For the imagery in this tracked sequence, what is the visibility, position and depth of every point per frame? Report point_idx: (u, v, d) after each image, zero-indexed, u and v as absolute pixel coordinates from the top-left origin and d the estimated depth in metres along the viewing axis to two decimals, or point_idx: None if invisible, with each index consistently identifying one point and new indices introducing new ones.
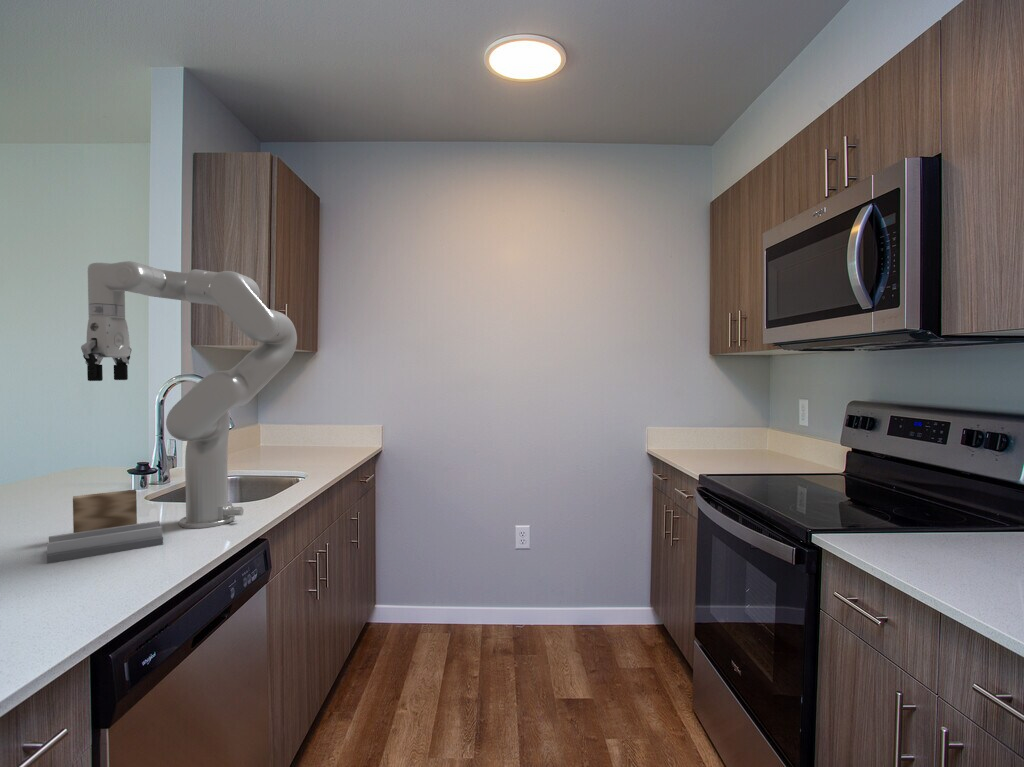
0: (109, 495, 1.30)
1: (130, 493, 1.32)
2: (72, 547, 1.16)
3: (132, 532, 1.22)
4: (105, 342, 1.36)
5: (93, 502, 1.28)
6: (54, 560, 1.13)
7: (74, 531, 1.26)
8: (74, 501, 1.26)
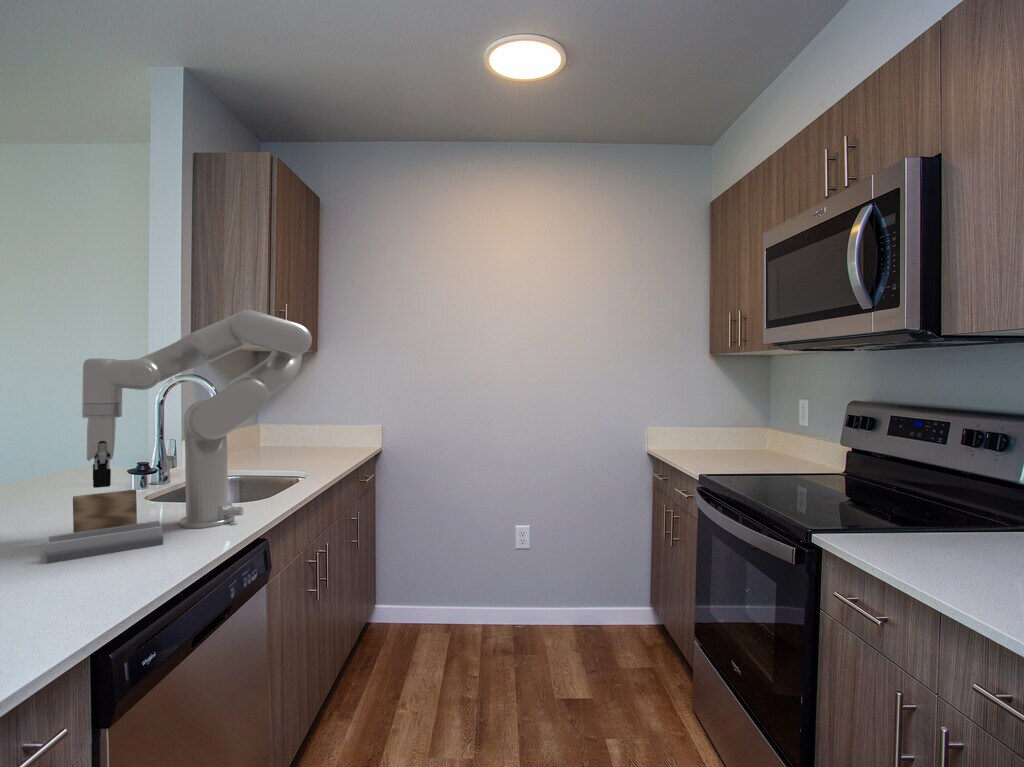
0: (109, 495, 1.30)
1: (130, 493, 1.32)
2: (72, 547, 1.16)
3: (132, 532, 1.22)
4: None
5: (93, 502, 1.28)
6: (54, 560, 1.13)
7: (74, 531, 1.26)
8: (74, 501, 1.26)
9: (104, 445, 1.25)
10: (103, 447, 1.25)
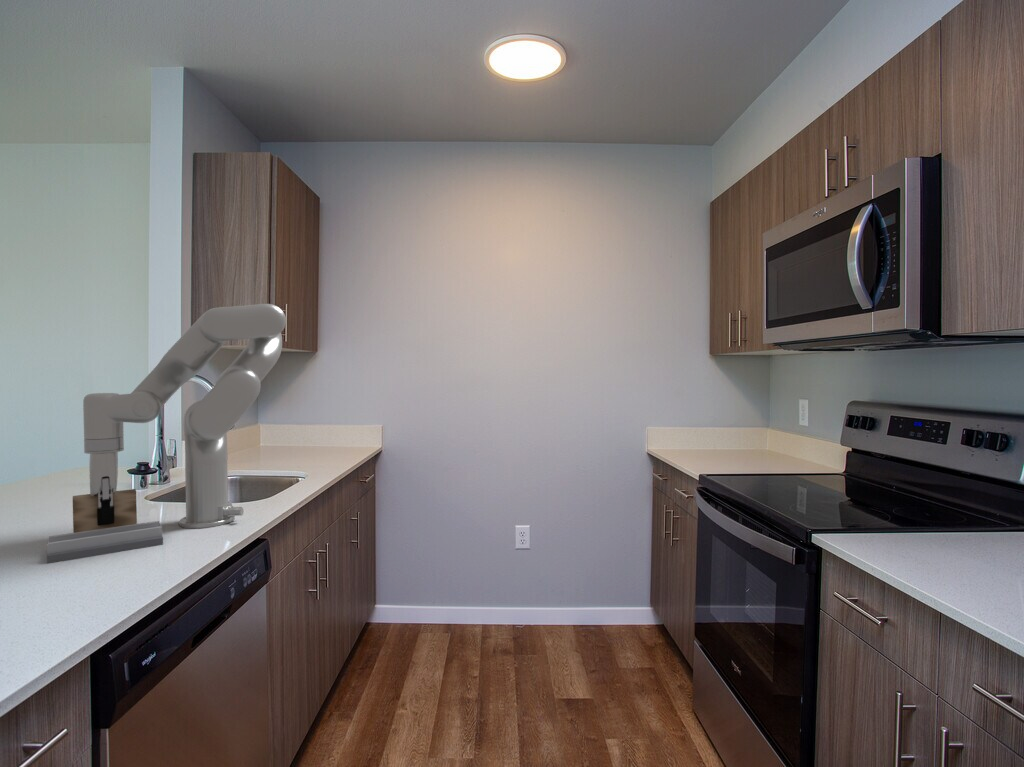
0: None
1: (130, 493, 1.32)
2: (72, 547, 1.16)
3: (132, 532, 1.22)
4: None
5: (92, 502, 1.28)
6: (54, 560, 1.13)
7: (74, 531, 1.26)
8: (74, 501, 1.26)
9: (107, 486, 1.27)
10: (106, 489, 1.26)
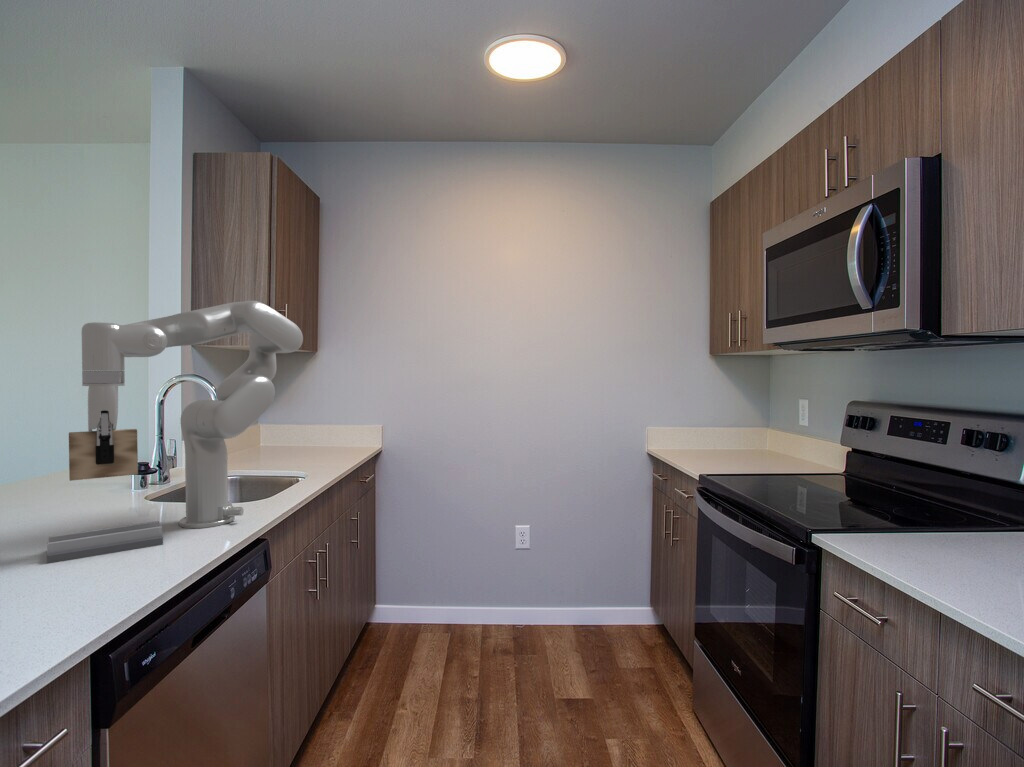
0: None
1: (130, 431, 1.23)
2: (72, 547, 1.16)
3: (132, 532, 1.22)
4: None
5: (90, 439, 1.19)
6: (54, 560, 1.13)
7: (70, 469, 1.17)
8: (70, 436, 1.17)
9: (106, 421, 1.17)
10: (105, 424, 1.17)
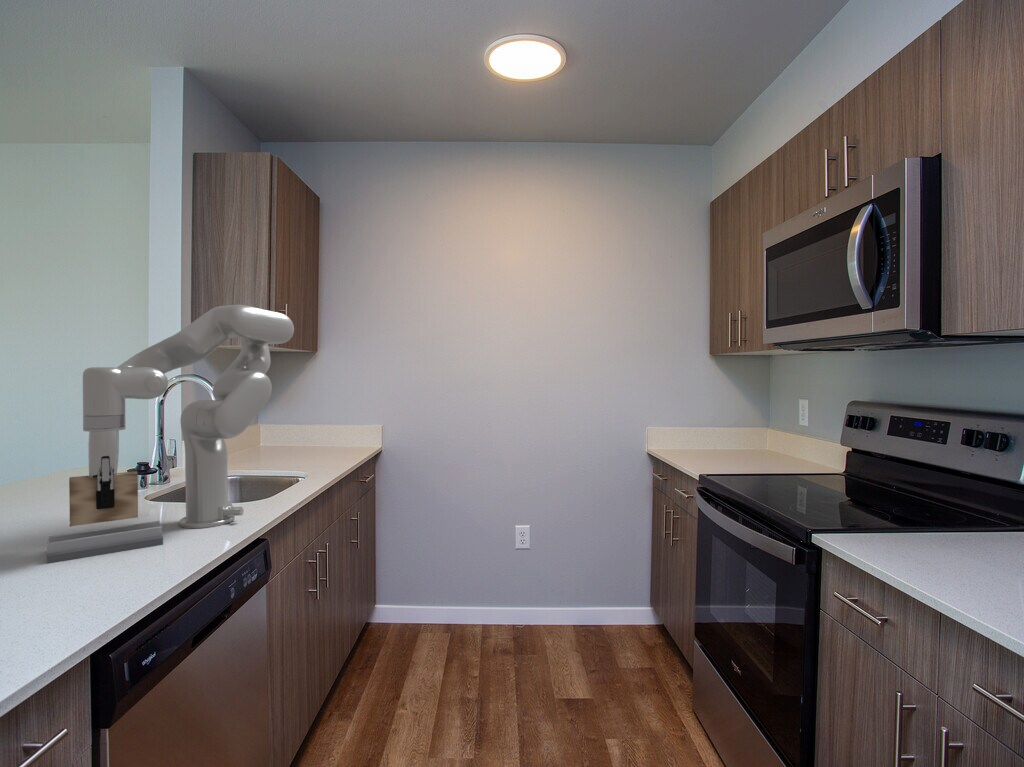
0: None
1: (131, 475, 1.23)
2: (72, 547, 1.16)
3: (132, 532, 1.22)
4: None
5: (91, 484, 1.19)
6: (54, 560, 1.13)
7: (70, 514, 1.17)
8: (71, 482, 1.17)
9: (107, 466, 1.18)
10: (106, 470, 1.17)
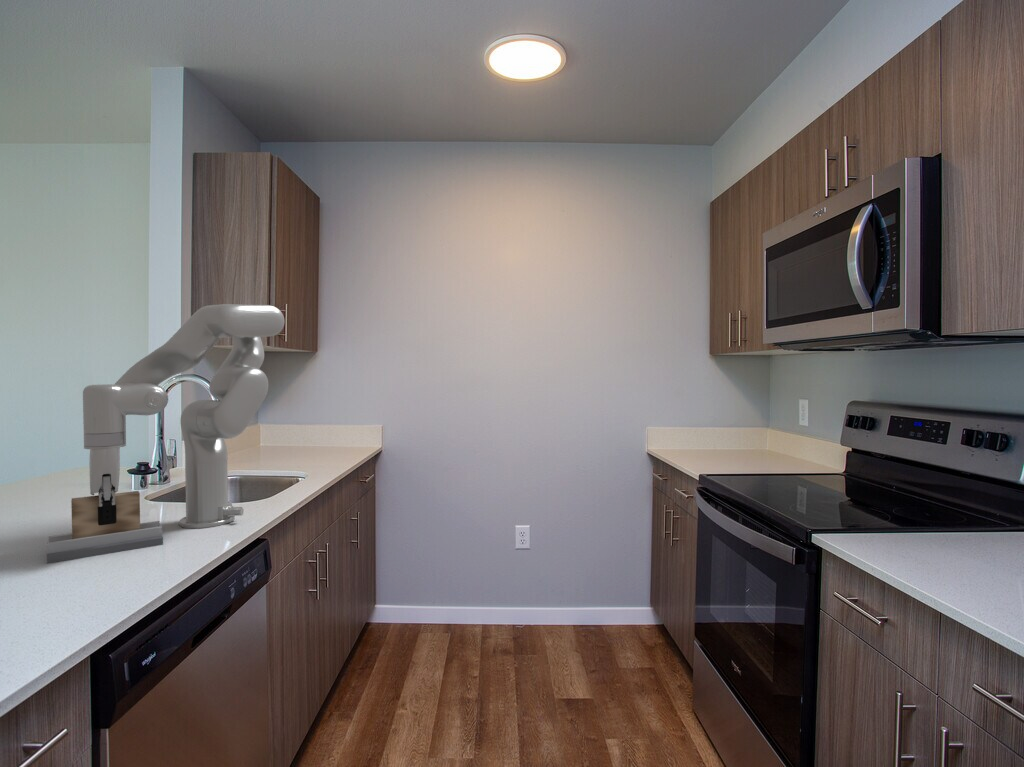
0: None
1: (133, 495, 1.24)
2: (72, 547, 1.16)
3: (132, 532, 1.22)
4: None
5: (93, 505, 1.19)
6: (54, 560, 1.13)
7: (73, 536, 1.17)
8: (73, 504, 1.17)
9: (108, 480, 1.17)
10: (107, 483, 1.17)
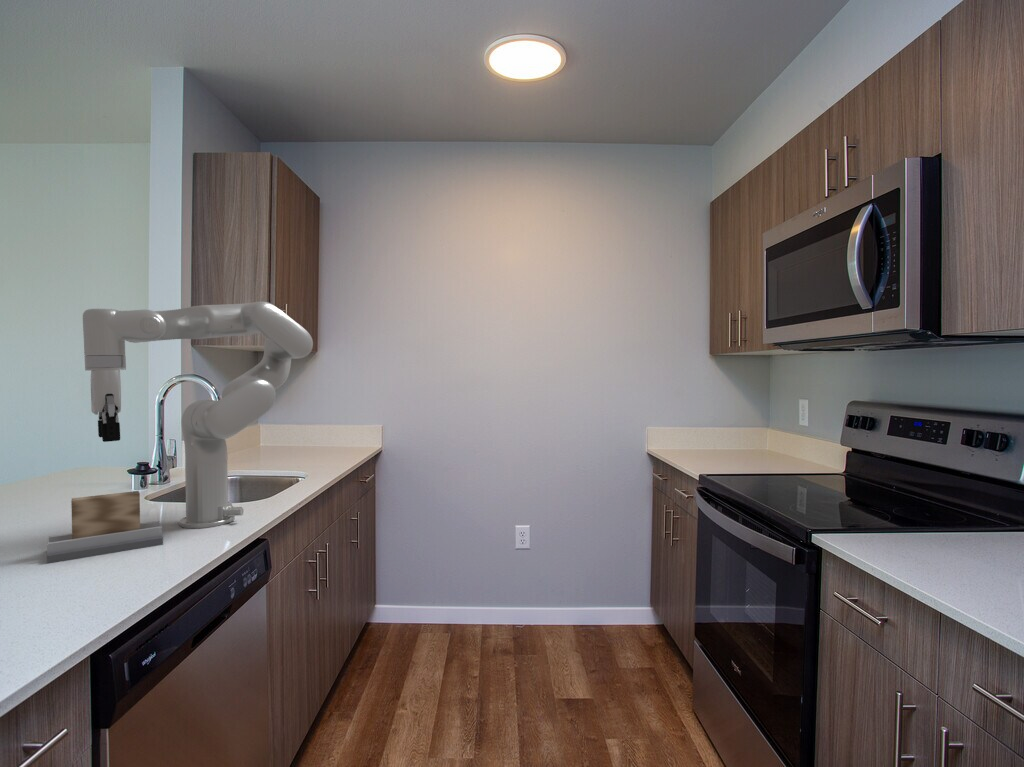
0: (110, 497, 1.21)
1: (133, 495, 1.24)
2: (72, 547, 1.16)
3: (132, 532, 1.22)
4: None
5: (93, 505, 1.19)
6: (54, 560, 1.13)
7: (73, 536, 1.17)
8: (73, 504, 1.17)
9: (111, 397, 1.21)
10: (111, 399, 1.21)
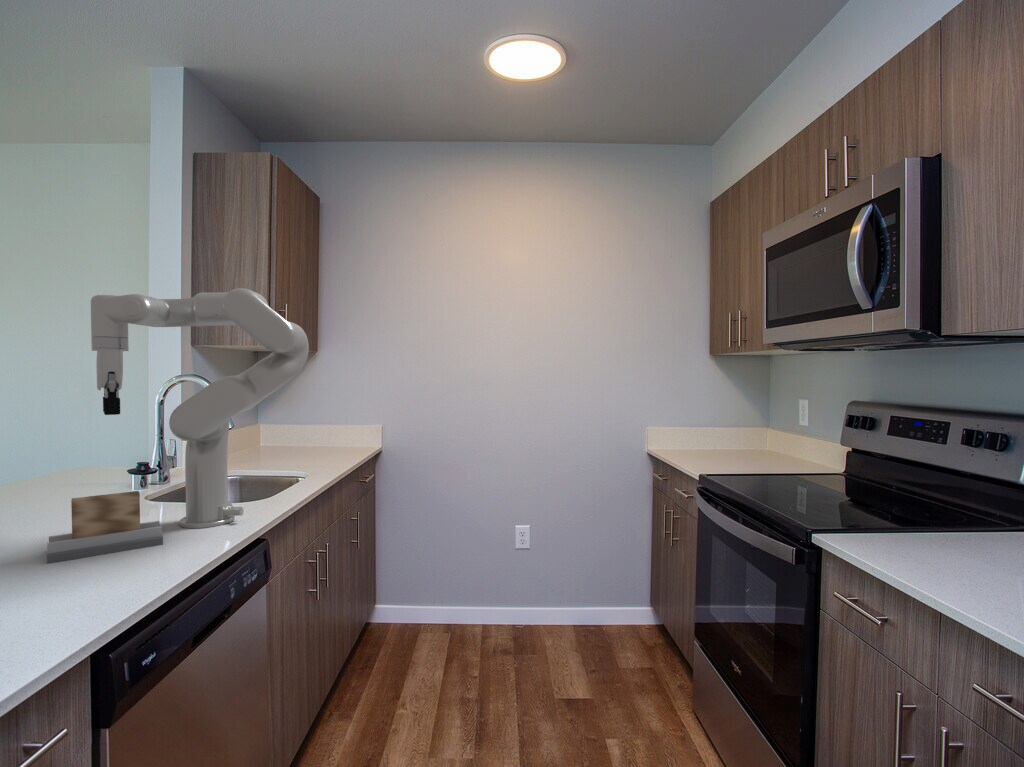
0: (110, 497, 1.21)
1: (133, 495, 1.24)
2: (72, 547, 1.16)
3: (132, 532, 1.22)
4: None
5: (93, 505, 1.19)
6: (54, 560, 1.13)
7: (73, 536, 1.17)
8: (73, 504, 1.17)
9: (113, 375, 1.34)
10: (112, 376, 1.33)
